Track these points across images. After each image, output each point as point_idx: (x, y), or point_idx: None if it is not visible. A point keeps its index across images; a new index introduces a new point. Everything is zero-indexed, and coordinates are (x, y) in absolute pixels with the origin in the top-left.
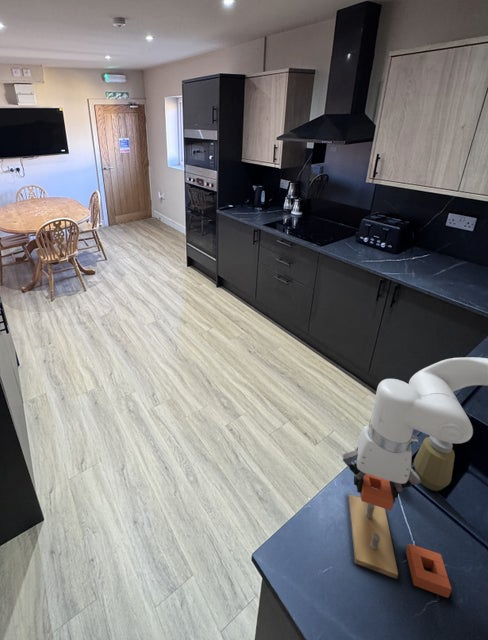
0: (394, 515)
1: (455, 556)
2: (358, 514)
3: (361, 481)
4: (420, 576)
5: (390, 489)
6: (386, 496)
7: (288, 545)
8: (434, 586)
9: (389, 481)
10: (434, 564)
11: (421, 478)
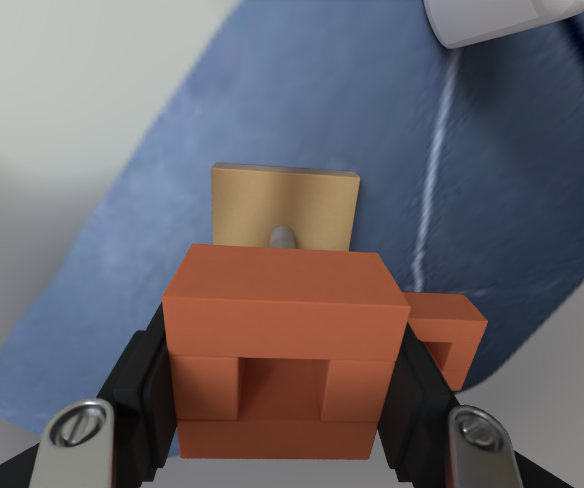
0: (391, 184)
1: (533, 263)
2: (242, 243)
3: (144, 477)
4: None
5: (380, 403)
6: (331, 448)
7: (30, 360)
8: None
9: (400, 361)
10: (448, 347)
11: None
